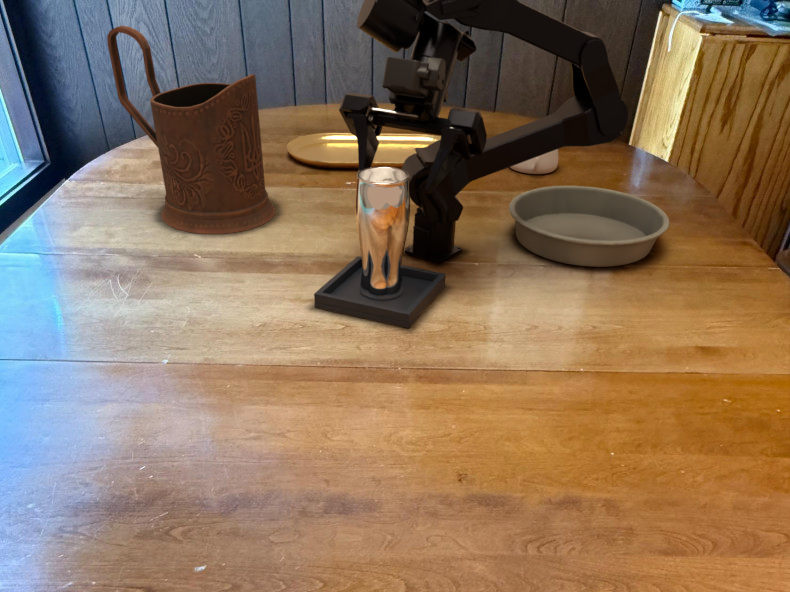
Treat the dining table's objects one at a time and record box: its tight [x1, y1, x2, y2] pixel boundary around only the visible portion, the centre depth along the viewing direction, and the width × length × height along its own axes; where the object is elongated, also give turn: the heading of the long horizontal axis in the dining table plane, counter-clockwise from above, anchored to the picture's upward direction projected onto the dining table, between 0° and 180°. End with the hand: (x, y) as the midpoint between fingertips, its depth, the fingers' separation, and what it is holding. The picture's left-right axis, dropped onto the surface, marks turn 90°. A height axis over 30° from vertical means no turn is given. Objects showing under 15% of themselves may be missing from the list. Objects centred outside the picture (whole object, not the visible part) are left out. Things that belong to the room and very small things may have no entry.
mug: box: [509, 148, 560, 175], centre depth 147 cm, size 12×10×6 cm
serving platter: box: [286, 132, 441, 169], centre depth 151 cm, size 19×35×2 cm, turn 93°
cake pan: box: [508, 185, 670, 268], centre depth 122 cm, size 25×25×4 cm
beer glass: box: [354, 167, 411, 300], centre depth 101 cm, size 7×7×15 cm
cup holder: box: [106, 25, 276, 235], centre depth 120 cm, size 18×24×25 cm
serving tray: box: [313, 255, 447, 329], centre depth 105 cm, size 14×14×2 cm
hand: (393, 186), depth 99 cm, fingers open, 9 cm apart
